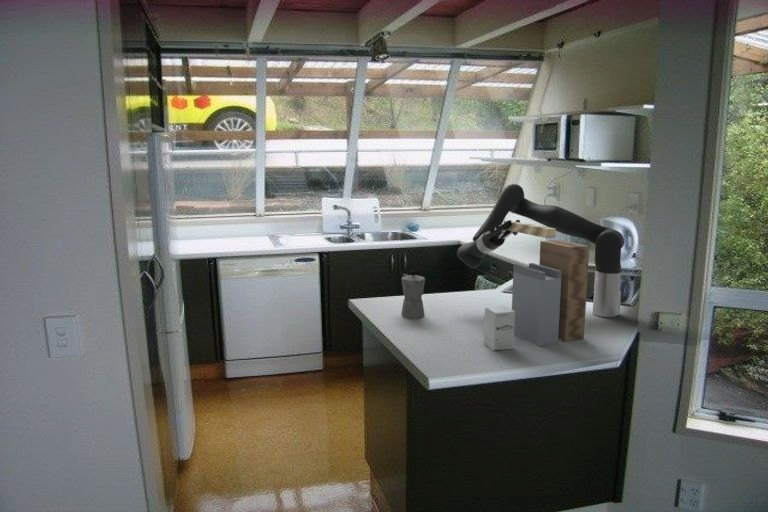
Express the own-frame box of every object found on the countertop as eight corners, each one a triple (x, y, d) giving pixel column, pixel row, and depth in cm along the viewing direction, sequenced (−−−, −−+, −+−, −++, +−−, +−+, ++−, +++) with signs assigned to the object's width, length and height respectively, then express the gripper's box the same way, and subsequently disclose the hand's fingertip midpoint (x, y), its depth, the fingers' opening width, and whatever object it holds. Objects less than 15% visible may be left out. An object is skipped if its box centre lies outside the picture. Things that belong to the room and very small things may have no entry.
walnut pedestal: (554, 326, 202) (558, 239, 196) (583, 338, 188) (589, 245, 182) (536, 329, 199) (540, 241, 193) (565, 341, 185) (570, 247, 179)
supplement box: (493, 351, 176) (494, 312, 174) (483, 343, 183) (484, 307, 181) (514, 349, 178) (515, 311, 176) (503, 341, 185) (504, 305, 183)
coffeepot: (432, 317, 214) (433, 271, 211) (413, 321, 209) (413, 274, 206) (409, 308, 227) (409, 265, 223) (390, 312, 221) (390, 268, 218)
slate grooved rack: (529, 330, 197) (532, 262, 193) (557, 342, 184) (561, 270, 180) (510, 333, 194) (513, 264, 190) (538, 346, 181) (541, 272, 176)
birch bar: (503, 229, 198) (503, 221, 198) (510, 228, 199) (510, 220, 199) (547, 238, 176) (548, 229, 176) (555, 237, 178) (555, 228, 177)
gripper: (472, 232, 208) (495, 213, 193) (503, 230, 213) (528, 211, 198) (476, 251, 205) (501, 233, 190) (508, 248, 211) (534, 231, 196)
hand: (515, 222), depth 194 cm, fingers closed on birch bar, 3 cm apart
